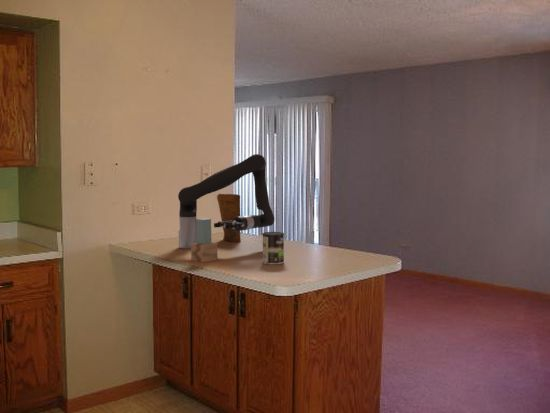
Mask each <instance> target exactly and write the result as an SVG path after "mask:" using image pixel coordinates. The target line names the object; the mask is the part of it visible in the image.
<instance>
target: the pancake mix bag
mask: <svg viewBox="0 0 550 413" xmlns="http://www.w3.org/2000/svg"><path fill="white" fill-rule="evenodd" d="M216 200H217V203H218V209H219V214H220V219H221V221H229V220H233V219H234V218H235V217H238V216H241V195H240V194H235V193H218V194H217V195H216ZM222 230H223V239H222V241H227V242H232V243H241V242H242V241H241V231H236V230H235V229H232V228H231V229H226V228H224V227H222Z"/></svg>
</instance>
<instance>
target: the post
mask: <svg viewBox="0 0 550 413" xmlns="http://www.w3.org/2000/svg"><path fill="white" fill-rule="evenodd" d="M196 223H197V244H202V245H205V244H211V243H212V219H211V218H205V217H204V218H196Z"/></svg>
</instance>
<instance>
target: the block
mask: <svg viewBox="0 0 550 413" xmlns="http://www.w3.org/2000/svg"><path fill="white" fill-rule="evenodd" d="M190 257H191V258H190V260H191V261H195V262H200V263H207V262H212V261H217V260H218V242H211V244H205V245H202V244H197V243H192V244H191V248H190Z"/></svg>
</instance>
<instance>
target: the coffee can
mask: <svg viewBox="0 0 550 413" xmlns="http://www.w3.org/2000/svg"><path fill="white" fill-rule="evenodd" d="M261 235H262V263H263V264H264V265H282V264H284V263H285V232H282V231H281V232H280V231H266V232H262V233H261Z"/></svg>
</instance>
